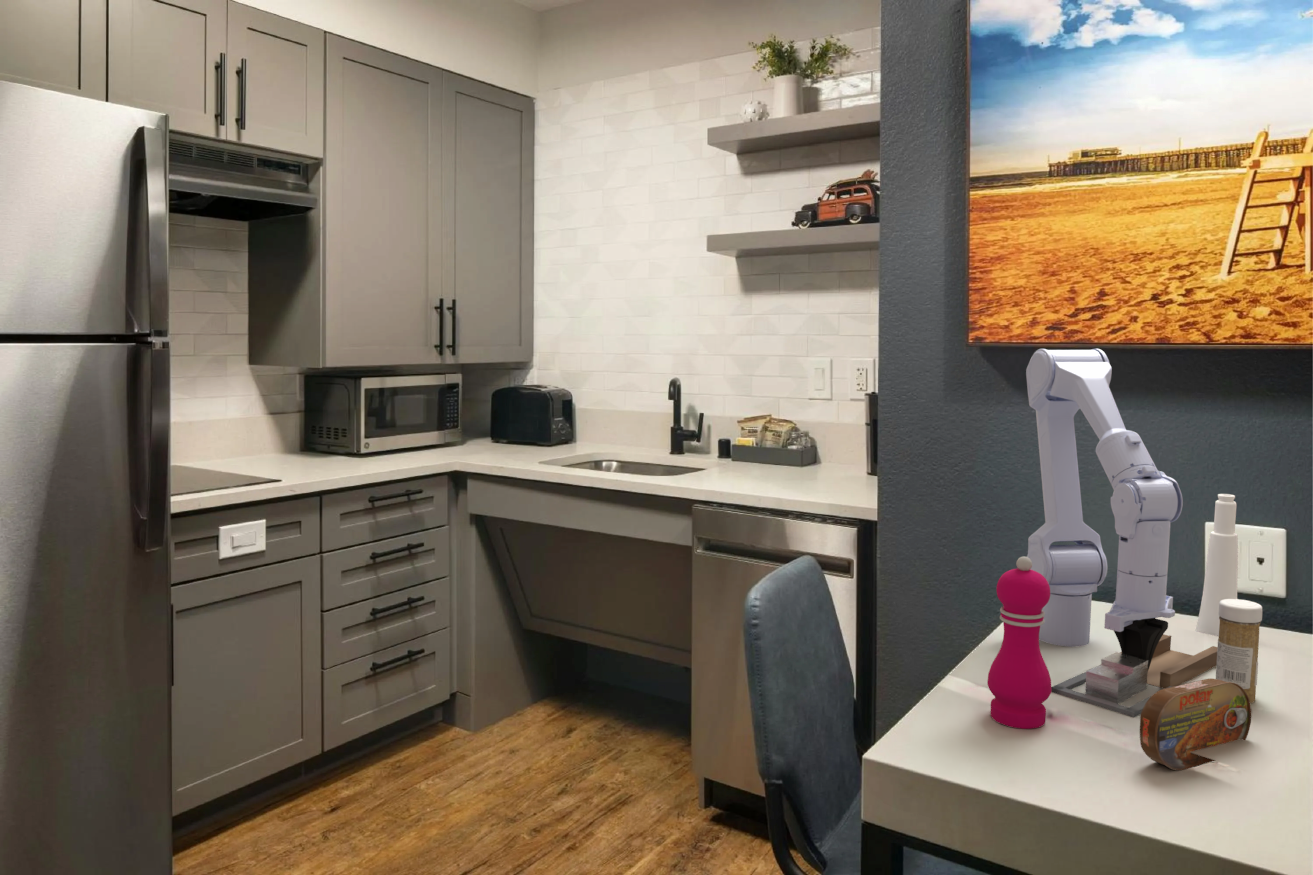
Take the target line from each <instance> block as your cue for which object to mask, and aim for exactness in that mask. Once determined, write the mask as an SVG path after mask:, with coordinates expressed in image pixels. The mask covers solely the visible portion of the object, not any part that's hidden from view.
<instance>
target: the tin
mask: <svg viewBox="0 0 1313 875" xmlns="http://www.w3.org/2000/svg"><path fill="white" fill-rule="evenodd" d="M1150 696H1151V697H1150ZM1150 696H1149V697H1150V698H1149V700H1148V701H1147V702H1146V704H1145V706H1144V707H1143V710H1142V712H1141V714H1140V718H1139V719H1140V720H1139V721H1140V722H1139V740H1140V747H1141V749H1142V750H1143V752H1144V754H1145V755H1146V756H1147V757H1148V758H1149V759H1150V760H1151V761H1154V762H1156V763H1157V764H1161V765H1163V766H1166V767H1167V768H1168V769H1171V770H1173V771H1184V770H1188V769H1191V768H1195V767H1198V766H1201V765H1205V764H1209V763H1213V762H1215V761H1217V760H1215V759H1213V758H1209V757H1206V756H1203V755H1200V754H1197V753H1194V752H1197V751H1199V750H1200V751H1201V750H1204V749H1208V748H1212V747H1217V746H1219V745H1224V744H1227V743H1232V742H1235V741H1240V740H1241V741H1246V740H1247V737H1248V735H1249V732H1250V727H1251V723H1252V707H1251V703H1250V700H1249V697H1248V695H1247V693H1246V692H1245V690H1244V689H1243V688H1242V687H1241V686H1239V685H1238V684H1235V683H1232V682H1225V681H1222V680H1218V679H1216V678H1205V679H1201V680H1196V681H1193V682H1188V683H1183V684H1181V685H1179V686H1174V687H1170V688H1165V689H1164V688H1161V689H1160V690H1158V691H1155V693H1153V694H1152V695H1150Z"/></svg>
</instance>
